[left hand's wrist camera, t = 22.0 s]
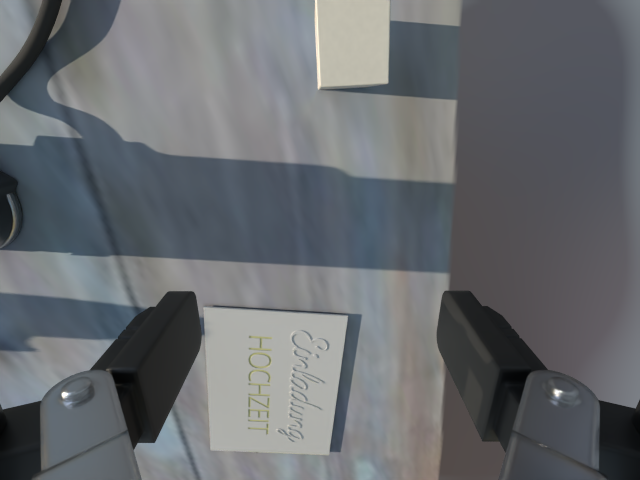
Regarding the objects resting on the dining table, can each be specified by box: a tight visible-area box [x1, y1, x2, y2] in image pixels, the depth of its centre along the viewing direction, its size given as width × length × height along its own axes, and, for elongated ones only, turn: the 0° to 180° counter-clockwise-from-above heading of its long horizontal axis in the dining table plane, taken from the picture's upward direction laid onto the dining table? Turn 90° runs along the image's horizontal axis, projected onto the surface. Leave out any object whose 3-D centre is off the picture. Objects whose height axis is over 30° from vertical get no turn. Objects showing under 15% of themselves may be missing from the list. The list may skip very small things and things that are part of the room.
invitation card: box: [203, 306, 348, 455], centre depth 40 cm, size 21×1×15 cm
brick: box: [315, 0, 391, 90], centre depth 23 cm, size 4×5×9 cm
